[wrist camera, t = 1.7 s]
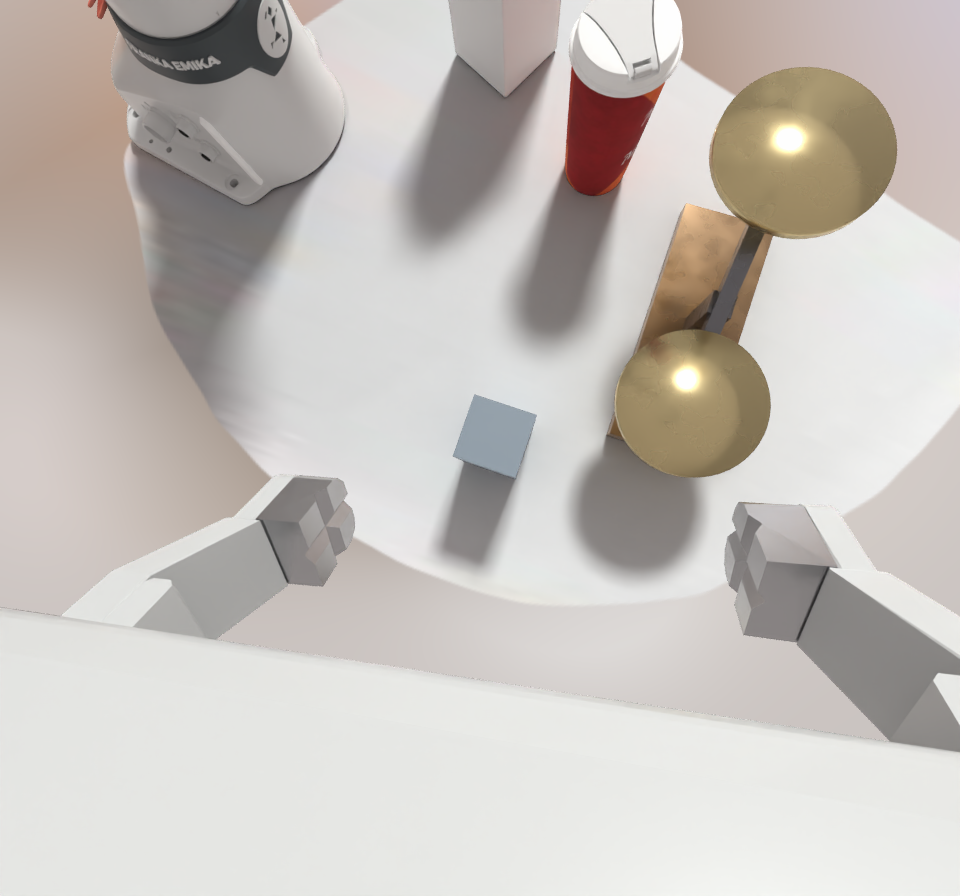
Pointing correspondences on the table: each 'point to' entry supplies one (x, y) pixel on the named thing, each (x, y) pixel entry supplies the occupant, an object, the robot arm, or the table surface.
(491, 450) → the block
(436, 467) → the table surface
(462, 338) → the table surface
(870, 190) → the balance
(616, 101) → the paper cup
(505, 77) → the milk carton
